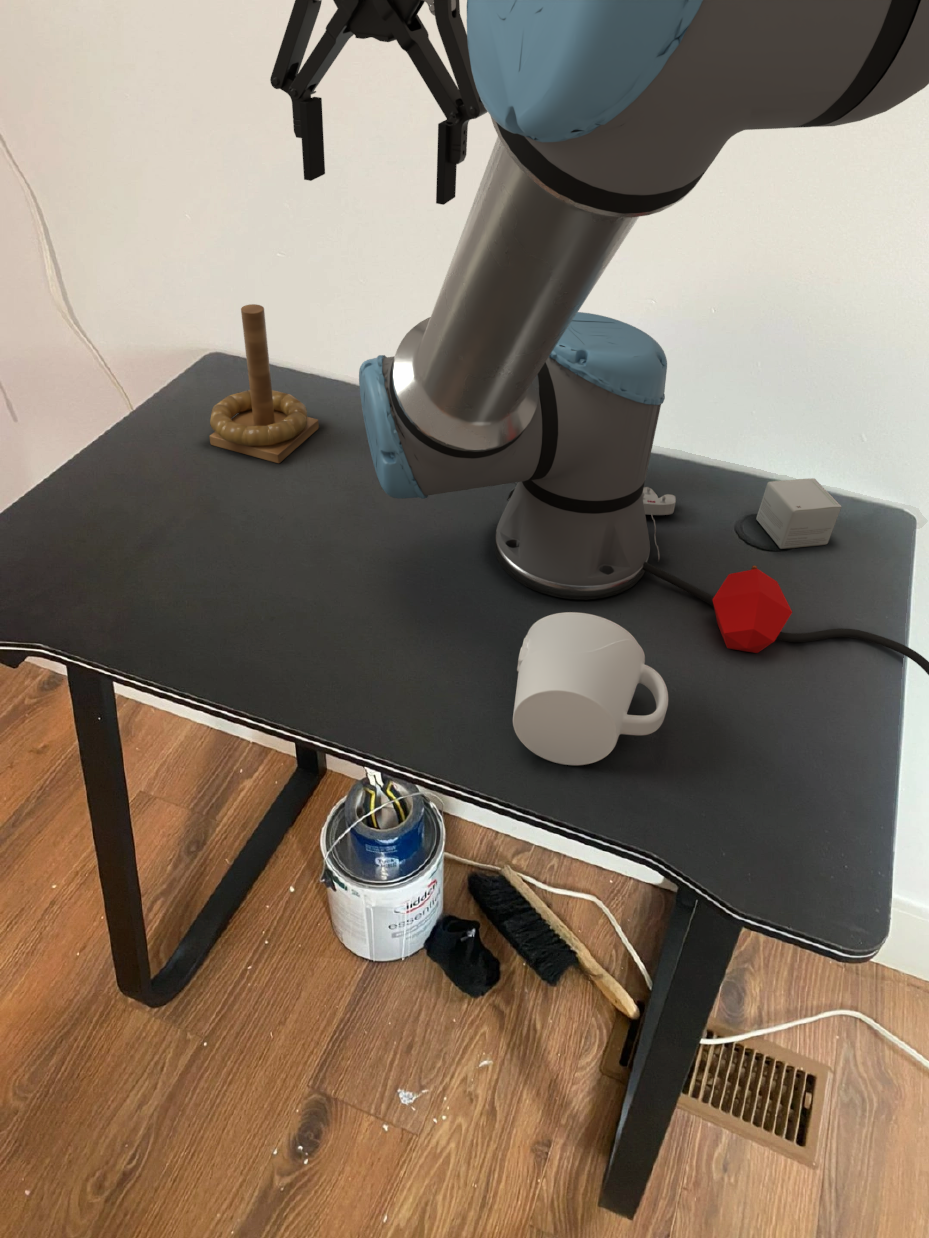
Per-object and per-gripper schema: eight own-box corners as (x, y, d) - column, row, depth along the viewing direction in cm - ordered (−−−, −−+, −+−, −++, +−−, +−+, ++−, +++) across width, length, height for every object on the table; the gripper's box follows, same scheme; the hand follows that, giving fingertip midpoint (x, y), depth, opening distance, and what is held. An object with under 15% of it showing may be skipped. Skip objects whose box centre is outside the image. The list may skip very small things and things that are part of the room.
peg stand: (319, 428, 109) (311, 302, 99) (279, 463, 102) (266, 332, 92) (253, 411, 111) (239, 286, 101) (210, 445, 105) (190, 315, 95)
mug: (498, 750, 72) (506, 677, 67) (522, 671, 79) (531, 599, 74) (651, 785, 70) (672, 713, 65) (662, 701, 77) (681, 629, 72)
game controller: (660, 494, 101) (665, 473, 100) (708, 556, 93) (714, 535, 91) (613, 499, 100) (617, 479, 98) (657, 563, 92) (662, 541, 90)
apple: (793, 631, 76) (797, 551, 80) (708, 625, 78) (716, 548, 82) (787, 669, 82) (791, 593, 86) (709, 663, 84) (716, 589, 88)
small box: (829, 545, 95) (844, 505, 92) (779, 550, 94) (792, 510, 91) (801, 514, 100) (815, 475, 96) (753, 519, 98) (765, 480, 95)
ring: (324, 415, 108) (323, 398, 107) (276, 458, 101) (275, 440, 99) (245, 396, 111) (243, 379, 110) (193, 436, 104) (190, 418, 102)
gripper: (541, -89, 71) (518, 199, 85) (263, -113, 78) (283, 158, 92) (508, -85, 66) (488, 222, 80) (212, -111, 72) (241, 177, 86)
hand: (378, 189), depth 86 cm, fingers open, 13 cm apart
